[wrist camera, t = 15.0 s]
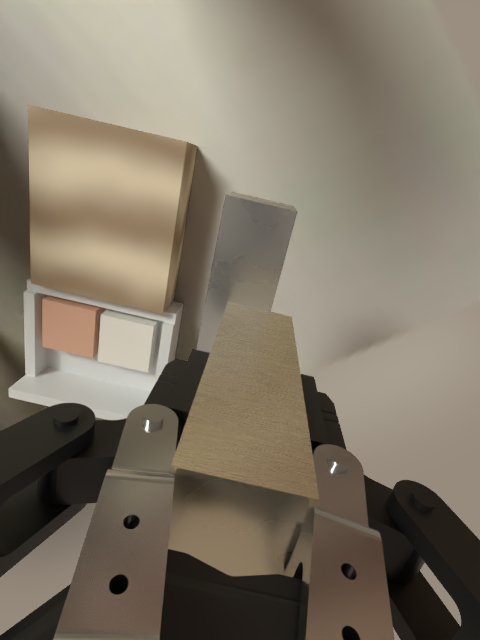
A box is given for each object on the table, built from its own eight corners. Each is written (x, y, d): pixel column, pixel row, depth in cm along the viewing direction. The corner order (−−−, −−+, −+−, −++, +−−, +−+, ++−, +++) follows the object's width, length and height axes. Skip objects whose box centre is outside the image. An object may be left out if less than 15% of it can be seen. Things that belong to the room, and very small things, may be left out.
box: (45, 271, 35) (4, 289, 30) (183, 303, 36) (167, 327, 30) (45, 366, 40) (8, 397, 34) (168, 394, 40) (152, 429, 34)
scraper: (192, 395, 22) (97, 661, 10) (232, 191, 17) (147, 224, 5) (256, 409, 22) (238, 693, 10) (313, 210, 17) (408, 285, 5)
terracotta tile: (54, 292, 35) (42, 299, 33) (105, 304, 35) (95, 311, 33) (54, 338, 36) (42, 346, 35) (101, 349, 36) (92, 358, 35)
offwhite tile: (109, 307, 35) (100, 314, 33) (160, 318, 35) (153, 326, 33) (106, 351, 37) (97, 361, 35) (154, 362, 37) (147, 372, 35)
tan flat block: (58, 113, 30) (28, 104, 26) (197, 146, 30) (187, 141, 26) (55, 272, 35) (30, 283, 32) (174, 299, 35) (162, 313, 32)
